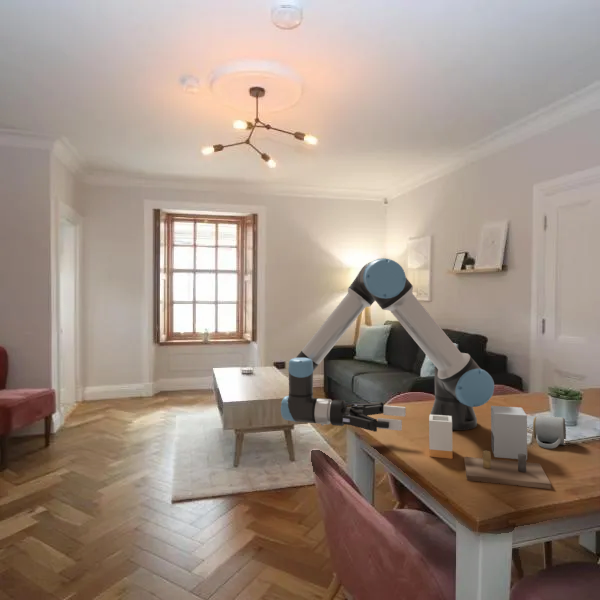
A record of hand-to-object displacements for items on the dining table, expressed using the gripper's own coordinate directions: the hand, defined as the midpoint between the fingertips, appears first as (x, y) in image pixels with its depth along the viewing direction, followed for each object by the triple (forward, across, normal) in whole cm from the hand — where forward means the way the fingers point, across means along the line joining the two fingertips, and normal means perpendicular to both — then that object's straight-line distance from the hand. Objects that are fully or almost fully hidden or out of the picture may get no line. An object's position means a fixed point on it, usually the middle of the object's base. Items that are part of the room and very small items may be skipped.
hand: (403, 418), depth 126 cm
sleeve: (+10, 0, -9) cm, 14 cm away
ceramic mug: (+41, -16, -9) cm, 45 cm away
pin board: (+25, +10, -9) cm, 28 cm away
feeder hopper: (+28, -5, -9) cm, 30 cm away
